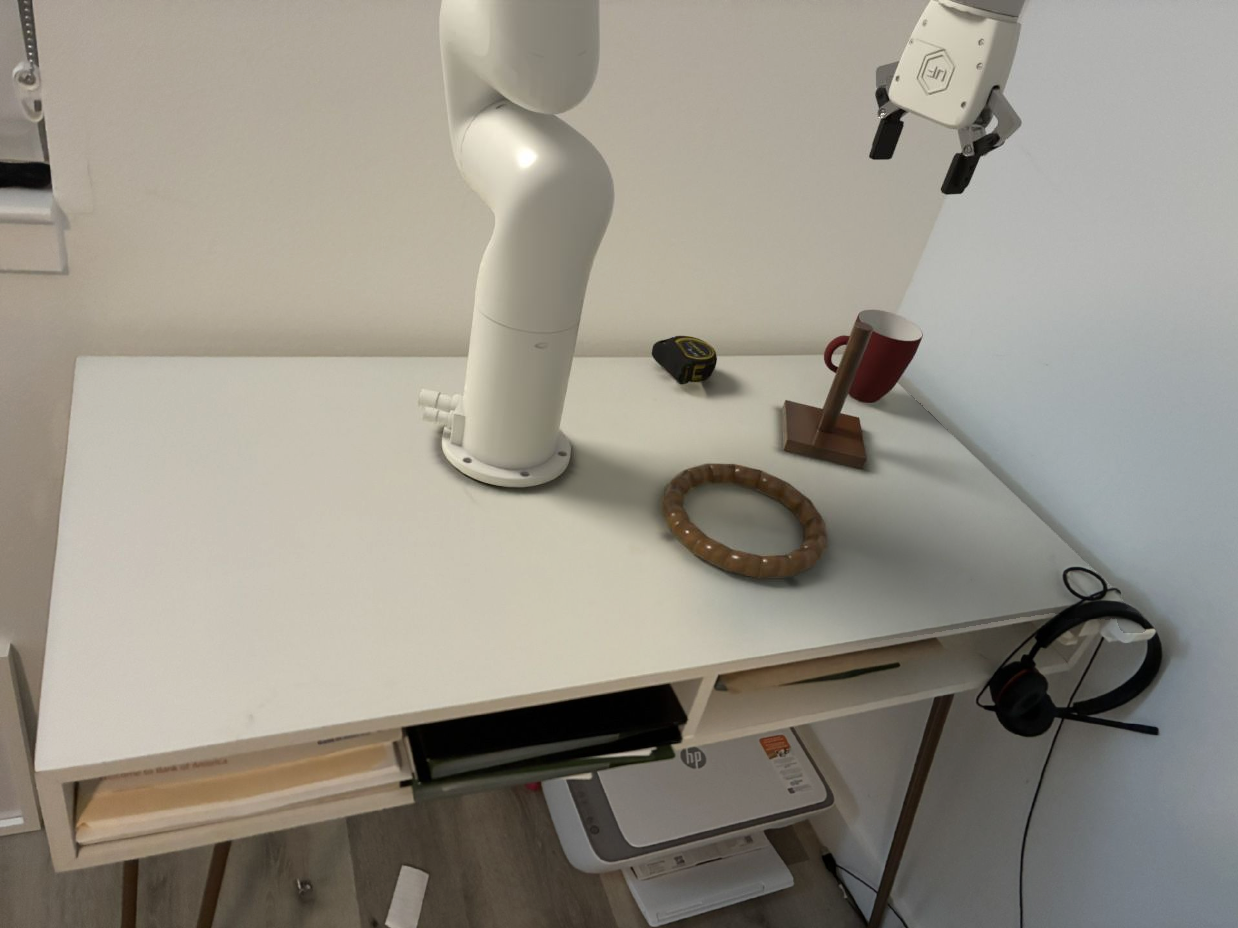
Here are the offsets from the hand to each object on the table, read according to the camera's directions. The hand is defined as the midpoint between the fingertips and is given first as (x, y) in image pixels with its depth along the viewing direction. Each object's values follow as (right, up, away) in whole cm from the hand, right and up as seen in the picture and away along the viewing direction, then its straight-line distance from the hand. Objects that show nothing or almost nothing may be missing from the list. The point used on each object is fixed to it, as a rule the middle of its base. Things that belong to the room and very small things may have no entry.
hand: (914, 175), depth 95 cm
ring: (-19, -35, -8) cm, 40 cm away
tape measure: (-23, -20, +15) cm, 34 cm away
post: (-8, -27, +10) cm, 30 cm away
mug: (-1, -21, +21) cm, 30 cm away
